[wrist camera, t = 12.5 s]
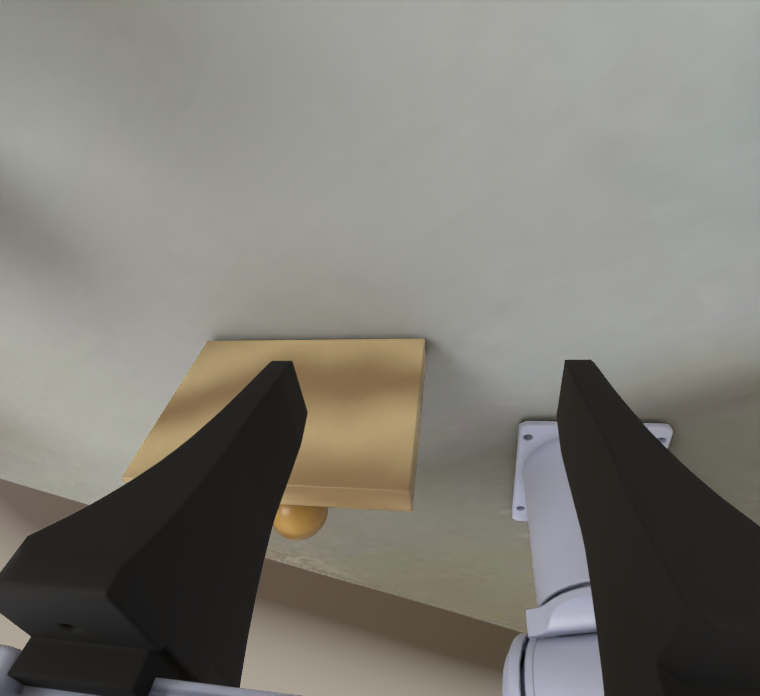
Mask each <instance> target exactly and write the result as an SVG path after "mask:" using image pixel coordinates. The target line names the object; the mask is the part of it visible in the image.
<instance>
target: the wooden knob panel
mask: <svg viewBox="0 0 760 696" xmlns="http://www.w3.org/2000/svg"><path fill="white" fill-rule="evenodd" d="M271 361H293V364H294V368H295V371H296V374H297V378H298V381H299V385H300V388H301V391H302V395H303V398H304V401H305V405H306V408H307V412H308V414H307V419H306V424H305V429H304V434H303V438H302V443H301V446H300V449H299V452H298V455H297V458H296V461H295V464H294V467H293V469H292V472H291V475H290V478H289V480H288V483H287V486H286V489H285V492H284V494H283V497H282V500H281V503H280V505H279V508H278V511H277V514H276V517H275V520H274V523H273V527H274V528H275V530H276V531H277V532H278V533H279V534H280V535H282V536H283V537H285V538H287V539H291V540H304V539H307V538H309V537H311V536H313V535H315V534H316V533H317V532H318V531H319V530H320V529H321V528H322V526H323V524H324V523H325V520H326V517H327V513H328V507H339V508H358V509H377V510H396V511H412V510H413V499H414V488H415V477H416V466H417V455H418V444H419V433H420V422H421V411H422V400H423V389H424V378H425V367H426V349H425V339H424V338H422V339H329V340H235V341H207V343H206V344H205V346H204V348H203V349H202V351H201V352H200V354H199V356H198V357H197V359H196V360H195V362H194V364H193V365H192V367H191V368H190V370H189V371H188V373H187V375H186V376H185V378H184V379H183V381H182V383H181V384H180V386H179V387H178V389H177V391H176V392H175V394H174V395H173V397H172V398H171V400H170V402H169V403H168V405H167V406H166V408H165V410H164V411H163V413H162V414H161V416H160V417H159V419H158V421H157V422H156V424H155V425H154V427H153V429H152V430H151V432H150V433H149V435H148V437H147V438H146V440H145V441H144V443H143V444H142V446H141V448H140V449H139V451H138V452H137V454H136V456H135V457H134V459H133V460H132V462H131V464H130V465H129V467H128V468H127V470H126V471H125V473H124V475H123V476H122V479H123V480H124V482H125V483H126V484H127V483H128V482H130V481H131V480H133V479H134V478H136V477H137V476H139V475H140V474H142V473H143V472H145V471H146V470H148V469H149V468H151V467H152V466H154V465H155V464H157V463H158V462H159V461H161V460H162V459H164V458H165V457H166V456H168V455H169V454H170V453H172V452H173V451H174V450H175V449H177V448H178V447H179V446H181V445H182V444H183V443H184V442H186V441H187V440H188V439H189V438H191V437H192V436H193V435H194V434H195V433H196V432H198V431H199V430H200V429H201V428H202V427H203V426H204V425H205V424H207V423H208V422H209V421H210V420H211V419H212V418H213V417H214V416H216V415H217V414H218V413H219V412H220V411H221V410H222V409H223V408H224V407H225V406H226V405H227V404H228V403H229V402H230V401H231V400H232V399H234V398H235V397H236V396H237V395H238V394H239V393H240V392H241V391H242V390H243V389H244V388H245V387H246V386H247V385H248V384H249V383H250V382H251V381H252V380H253V379H254V378H255V377H256V376H257V375H258V374H259V373H260V372H261V371H262V370H263V369H264V368H265V367H266V366H267V365H268V364H269V363H270V362H271Z"/></svg>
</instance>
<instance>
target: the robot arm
mask: <svg viewBox="0 0 760 696" xmlns="http://www.w3.org/2000/svg"><path fill="white" fill-rule="evenodd" d="M307 414H308V412H307V408H306V405H305V401H304V398H303V395H302V391H301V388H300V385H299V381H298V378H297V374H296V371H295V368H294V364H293V361H271V362H270V363H269V364H268V365H267V366H266V367H265V368H264V369H263V370H262V371H261V372H260V373H259V374H258V375H257V376H256V377H255V378H254V379H253V380H252V381H251V382H250V383H249V384H248V385H247V386H246V387H245V388H244V389H243V390H242V391H241V392H240V393H239V394H238V395H237V396H236V397H235V398H234V399H232V400H231V401H230V402H229V403H228V404H227V405H226V406H225V407H224V408H223V409H222V410H221V411H220V412H219V413H218V414H217V415H216V416H214V417H213V418H212V419H211V420H210V421H209V422H208V423H207V424H205V425H204V426H203V427H202V428H201V429H200V430H199V431H198V432H196V433H195V434H194V435H193V436H192V437H191V438H189V439H188V440H187V441H186V442H184V443H183V444H182V445H181V446H179V447H178V448H177V449H175V450H174V451H173V452H172V453H170V454H169V455H168V456H166V457H165V458H164V459H162V460H161V461H159V462H158V463H157V464H155V465H154V466H152V467H151V468H149V469H148V470H146V471H145V472H143V473H142V474H140V475H139V476H137V477H136V478H134V479H133V480H131V481H130V482H128V483H127V484H125V485H123V486H122V487H120V488H119V489H117V490H115V491H113V492H112V493H110V494H108V495H107V496H105V497H103V498H102V499H100V500H98V501H96V502H94V503H93V504H91V505H89V506H87V507H85V508H84V509H82V510H80V511H78V512H76V513H74V514H72V515H71V516H68V517H66V518H64V519H62V520H60V521H58V522H56V523H54V524H52V525H50V526H48V527H46V528H44V529H42V530H40V531H38V532H36V533H34V534H31V535H29V536H27V538H26V539H25V540H24V542H23V543H22V544H21V546H20V547H19V548H18V550H17V551H16V552H15V554H14V555H13V556H12V558H11V559H10V560H9V562H8V563H7V564H6V566H5V567H4V568H3V570H2V571H1V572H0V613H1V614H2V615H4V616H5V617H6V618H8V619H9V620H10V621H12V622H13V623H14V624H15V625H17V626H18V627H19V628H21V629H22V630H23V631H25V632H26V633H27V634H29V635H30V636H31V638H30V639H29V641H28V643H27V644H26V646H25V647H24V649H23V650H20V649H17V648H14V647H11V646H7V645H0V696H299V695H292V694H284V693H276V692H268V691H260V690H252V689H244V688H240V682H241V675H242V669H243V663H244V657H245V651H246V645H247V639H248V634H249V629H250V623H251V618H252V613H253V608H254V603H255V598H256V593H257V589H258V584H259V580H260V575H261V570H262V566H263V561H264V558H265V554H266V550H267V546H268V541H269V537H270V533H271V530H272V526H273V523H274V520H275V517H276V514H277V511H278V508H279V505H280V503H281V500H282V497H283V494H284V492H285V489H286V486H287V483H288V480H289V478H290V475H291V472H292V469H293V467H294V464H295V461H296V458H297V455H298V452H299V449H300V446H301V443H302V438H303V434H304V429H305V424H306V419H307ZM527 434H529V435H527ZM672 435H673V430H672V428H671V426H670V425H668V424H664V423H642V422H641V420H640V419H639V418H638V417H637V416H636V415H635V414H634V412H633V411H632V410H631V409H630V408H629V407H628V406H627V404H626V403H625V402H624V401H623V400H622V398H621V397H620V396H619V395H618V393H617V392H616V391H615V390H614V388H613V387H612V386H611V384H610V383H609V382H608V381H607V379H606V378H605V377H604V375H603V374H602V373H601V371H600V370H599V369H598V367H597V366H596V365H595V363H594V362H593V361H592V360H565V364H564V371H563V377H562V384H561V390H560V397H559V404H558V410H557V421H524V422H522V423H521V424H520V425H519V432H518V443H517V455H516V467H515V479H514V491H513V502H512V518H513V519H515V520H517V521H528V526H529V535H530V545H531V554H532V563H533V572H534V581H535V590H536V599H537V606H538V607H537V608H534V609H529V610H526V620H527V631H528V633H522V634H519V635H518V636H516V637H515V639H514V640H513V642H512V645H511V647H510V651H509V652H508V654H507V657H506V660H505V664H504V671H503V696H760V526H759V525H757V524H756V523H754V522H753V521H752V520H750V519H749V518H748V517H747V516H745V515H744V514H743V513H741V512H740V511H739V510H737V509H736V508H735V507H733V506H732V505H731V504H729V503H728V502H727V501H725V500H724V499H723V498H722V497H720V496H719V495H718V494H717V493H715V492H714V491H713V490H712V489H711V488H709V487H708V486H707V485H706V484H705V483H703V482H702V481H701V480H700V479H699V478H698V477H697V476H695V475H694V474H693V473H692V472H691V471H690V470H689V469H688V468H687V467H685V466H684V465H683V464H682V463H681V462H680V461H679V460H678V459H677V458H676V457H675V456H674V455H673V454H672V453H671V452H670V451H669V450H668V446H669V443H670V441H671V438H672Z"/></svg>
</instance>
